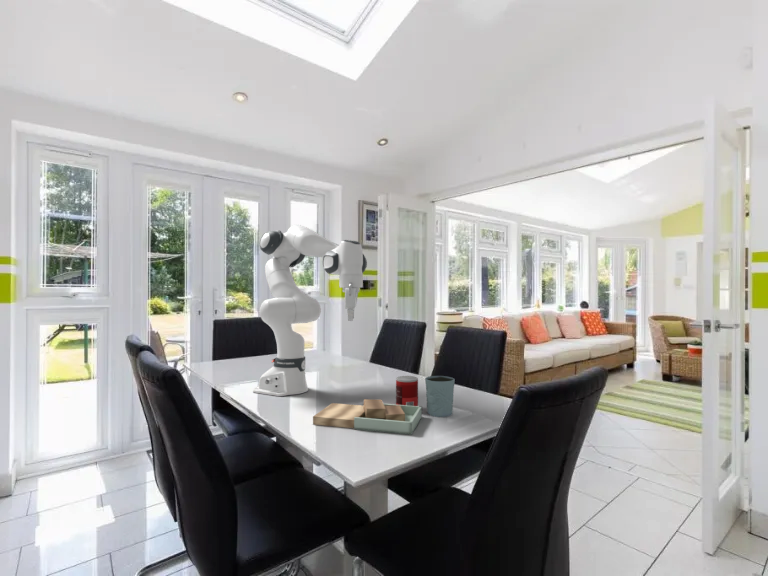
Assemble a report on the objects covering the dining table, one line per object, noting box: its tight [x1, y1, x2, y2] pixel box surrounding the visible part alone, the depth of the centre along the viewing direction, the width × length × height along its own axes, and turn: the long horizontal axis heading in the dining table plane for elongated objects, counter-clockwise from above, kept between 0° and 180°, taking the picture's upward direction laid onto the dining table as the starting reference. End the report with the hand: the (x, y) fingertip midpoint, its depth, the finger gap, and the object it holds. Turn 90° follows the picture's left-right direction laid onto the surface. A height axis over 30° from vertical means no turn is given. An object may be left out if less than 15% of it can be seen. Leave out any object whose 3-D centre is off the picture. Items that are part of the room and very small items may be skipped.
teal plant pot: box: [424, 375, 455, 418], centre depth 145 cm, size 10×10×12 cm
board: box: [312, 402, 365, 429], centre depth 138 cm, size 14×16×2 cm
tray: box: [353, 403, 423, 436], centre depth 134 cm, size 18×18×4 cm
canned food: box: [395, 375, 419, 406], centre depth 150 cm, size 8×8×11 cm
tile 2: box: [383, 404, 405, 421], centre depth 136 cm, size 6×10×3 cm, turn 8°
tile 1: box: [363, 398, 386, 418], centre depth 137 cm, size 6×10×3 cm, turn 8°
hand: (350, 319), depth 158 cm, fingers open, 8 cm apart
